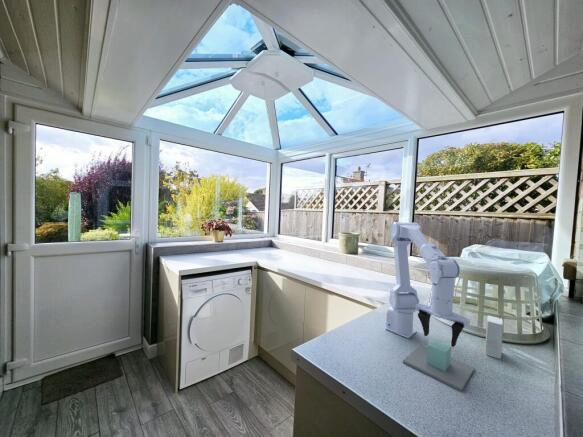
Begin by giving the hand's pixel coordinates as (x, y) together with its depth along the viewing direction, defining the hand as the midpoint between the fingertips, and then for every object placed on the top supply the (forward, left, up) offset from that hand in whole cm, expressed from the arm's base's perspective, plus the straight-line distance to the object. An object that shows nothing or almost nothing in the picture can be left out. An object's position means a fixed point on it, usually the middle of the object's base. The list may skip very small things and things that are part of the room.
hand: (439, 339), depth 77 cm
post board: (0, 0, -8) cm, 8 cm away
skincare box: (+10, +23, -9) cm, 27 cm away
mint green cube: (0, 0, -8) cm, 8 cm away
